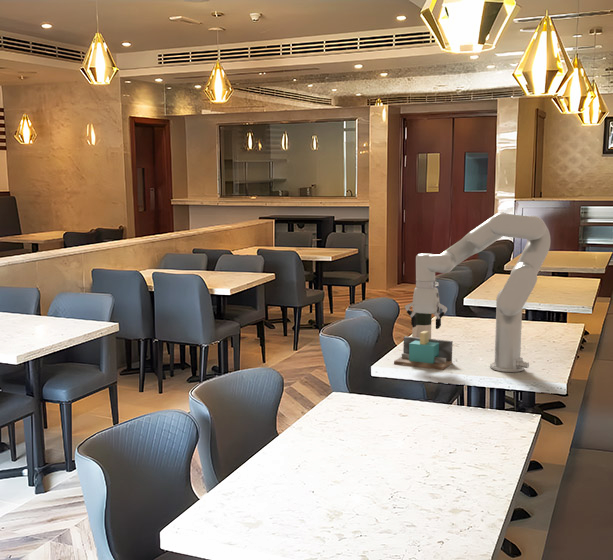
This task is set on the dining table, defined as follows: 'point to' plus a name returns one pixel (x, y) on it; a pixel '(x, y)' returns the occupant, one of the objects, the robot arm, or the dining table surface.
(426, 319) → the wine bottle
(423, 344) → the teal block
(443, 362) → the wall board
